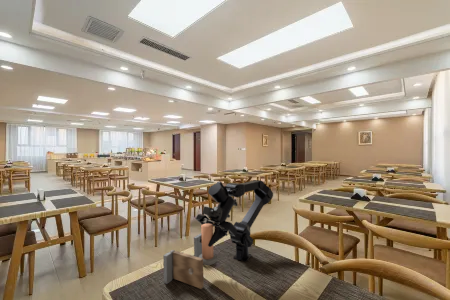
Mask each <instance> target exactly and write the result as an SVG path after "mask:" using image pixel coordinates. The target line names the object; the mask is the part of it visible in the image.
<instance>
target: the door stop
mask: <svg viewBox="0 0 450 300" xmlns="http://www.w3.org/2000/svg"><path fill="white" fill-rule="evenodd" d="M200 226H201V230H200V231H201V232H200V234H202V254H201V255H200V256H199V258H202V259H203V266H211V265H214V264H215V263H217V261H218V255H217V254H216V253H215V252H214V244H213V245H212V246H211V247H209V246H208V244H209V242H210V240H211V238H212V236H213V234H214V228H213V227H214V226H213V225H212V224H209V223H207V224H203V225H202V224H200Z"/></svg>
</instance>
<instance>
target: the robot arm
mask: <svg viewBox="0 0 450 300" xmlns="http://www.w3.org/2000/svg"><path fill="white" fill-rule="evenodd" d="M207 190H208V192H207V193H208V195H209V196H210V197H211V198H212V199H213V200H214V201H215V202H216V203H218V205H217V206H214V207H209V206H205V205H204V207H203V209H202V212H201V213H199V214H197V216H196V217H195V220H196V221H197V222H199V224H200V225H203V224H207V223H209V224H212V225H213V227H214V230H213V236H212V238H211V240H210V242H209V244H208V246H209V247H211V246H212V245H213V246H214V245H215V243H217V242H218V241H220V240H221V239H223V238H224V237H227V236H228V235H229V237H230V240H231V241H230V242H231V243H232V244H235V254H234V256H233V259H234V260H237V261H241V262H247V261H248V260H249V259H250V258H251V257H252V254H251V253H249V252H250V251H249V249H250V248H251V247H252V245H253V244H254V239H253V237H251V228H252V226H253V224H254V222H255V221H256V219H257V217H258V215H259V214H260V213H261V211H262V209H263V207H264V206H266V205H268V204H269V203H270V202H271V201H272V199H273V197H274V192H273V190H272V189H271V188H270V187H269V186H268V185H267V184H265V183H264V181H263V180H260V179H257V180H256V179H253V180H251V181H246V182H241V183H235V182H228V183H226V185H224V184H223V183H222V182H221V181H216V183H214V184H212V185H211V186H209V189H207ZM250 191H253V193H254V200H253V203H252V204H251V206H250V208H249V209H248V211H247V212H246V213H245V215H244V217H243V218H242V220H241V221H240V222H239V221H235V222H234V224H233V223H232V222H230V221H227V219H229V218H230V217H231V215H230V212H231V210H232V209H233V207H234V206H235V207H237V206H238V202H237V199H235V198H241V197H242V196H245V193H247V192H250ZM200 234H201V233H200ZM200 243H202V234H201V238H200Z"/></svg>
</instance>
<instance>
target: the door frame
mask: <svg viewBox="0 0 450 300" xmlns="http://www.w3.org/2000/svg"><path fill="white" fill-rule="evenodd" d="M200 238H201V233H199V234H197V235H196V236H194V237H193V250H194V251H193V252H194V254H193V256H195V257H199V256H200V255H201V254H202V243H200ZM162 260H163V283H164V284H166V285H168V284H169V283H170V282H172V281H173V278H172V253H170V251H169V252H166V253H165V254H163V259H162Z"/></svg>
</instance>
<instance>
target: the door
mask: <svg viewBox="0 0 450 300" xmlns="http://www.w3.org/2000/svg"><path fill="white" fill-rule="evenodd" d="M169 252H170V253H172V279H174V280H177V281H178V282H182V283H184V284H186V285H189V286H192V287H195V288H197V289H200V290H202V289H203V288H204V287H205V283H204V265H203V259H202V258H199V257H195V256H194V255H192V254H188V253H184V252H180V251H177V250H174V249H171V250H170V251H169Z"/></svg>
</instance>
